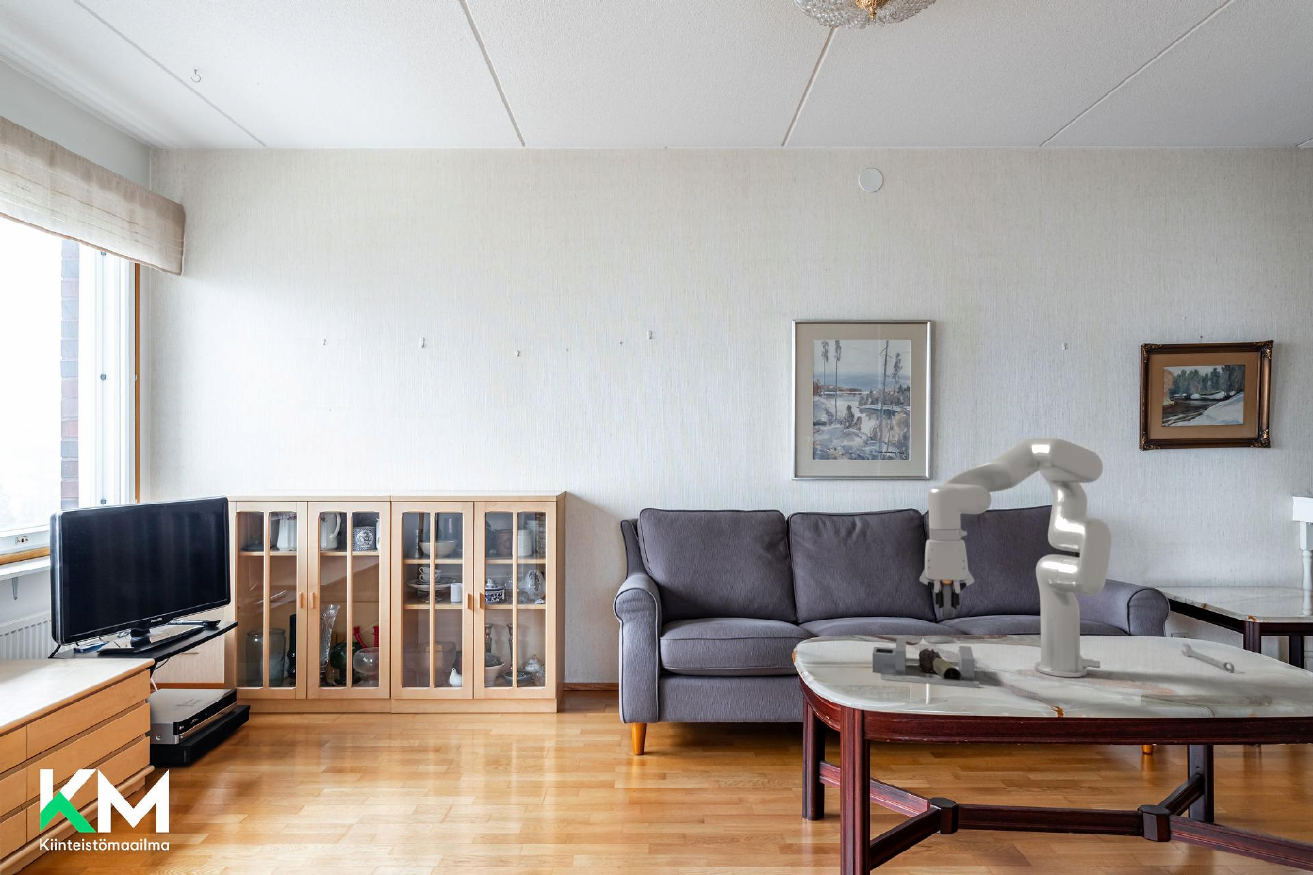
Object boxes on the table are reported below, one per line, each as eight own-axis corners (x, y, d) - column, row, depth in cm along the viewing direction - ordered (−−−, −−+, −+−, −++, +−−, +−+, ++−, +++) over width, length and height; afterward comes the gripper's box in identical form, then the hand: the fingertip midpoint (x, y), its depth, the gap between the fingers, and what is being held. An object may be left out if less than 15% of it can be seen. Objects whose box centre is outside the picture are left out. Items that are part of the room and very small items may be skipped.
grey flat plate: (974, 666, 218) (974, 662, 218) (979, 687, 199) (979, 683, 199) (884, 659, 226) (884, 655, 226) (881, 679, 206) (881, 674, 206)
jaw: (971, 668, 215) (970, 646, 215) (974, 682, 202) (974, 659, 202) (957, 667, 216) (957, 645, 216) (960, 681, 203) (959, 658, 203)
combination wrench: (1235, 661, 212) (1184, 641, 232) (1230, 661, 212) (1180, 641, 232) (1235, 675, 212) (1184, 654, 232) (1230, 675, 212) (1180, 654, 232)
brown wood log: (961, 684, 203) (961, 662, 203) (936, 684, 203) (935, 662, 203) (935, 665, 220) (935, 644, 221) (912, 665, 220) (911, 645, 220)
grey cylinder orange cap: (954, 614, 199) (953, 575, 199) (954, 617, 196) (953, 577, 196) (941, 614, 200) (939, 575, 200) (941, 617, 197) (939, 577, 197)
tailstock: (906, 664, 221) (906, 639, 221) (905, 677, 207) (904, 651, 208) (875, 661, 223) (874, 637, 224) (871, 674, 210) (871, 648, 210)
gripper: (978, 533, 199) (981, 605, 199) (911, 533, 205) (913, 603, 204) (980, 537, 192) (983, 612, 192) (911, 536, 197) (913, 609, 197)
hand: (947, 607), depth 198 cm, fingers closed on grey cylinder orange cap, 3 cm apart
